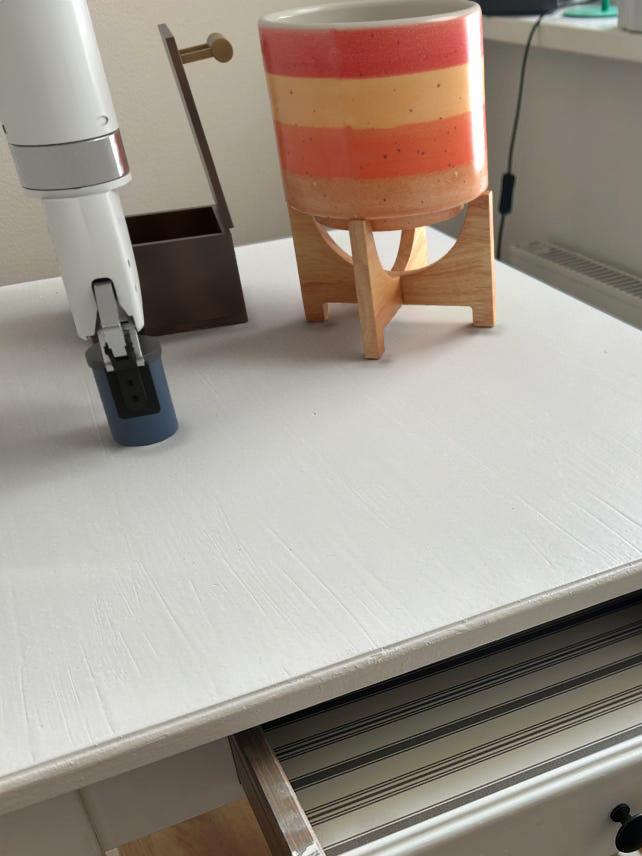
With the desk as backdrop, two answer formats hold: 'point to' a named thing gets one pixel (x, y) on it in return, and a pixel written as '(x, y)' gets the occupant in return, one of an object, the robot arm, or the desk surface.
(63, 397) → the desk surface
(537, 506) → the desk surface
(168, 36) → the lid
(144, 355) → the canister
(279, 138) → the planter
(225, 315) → the chest
